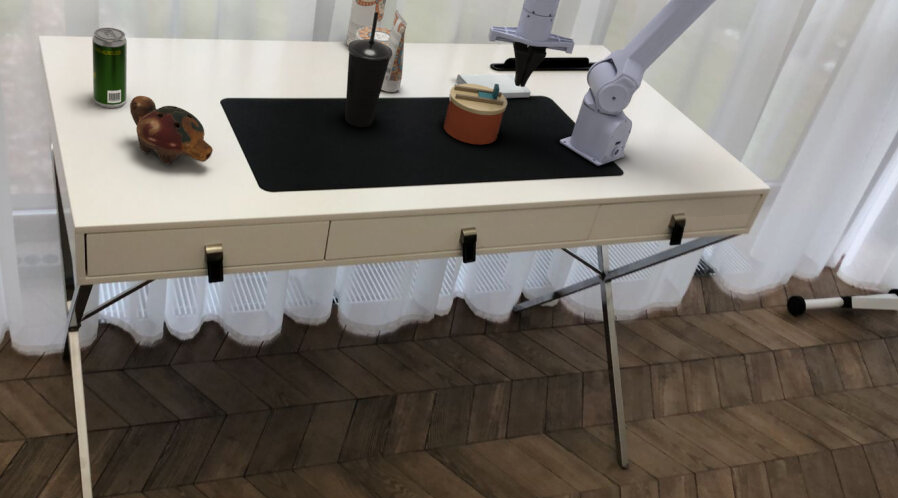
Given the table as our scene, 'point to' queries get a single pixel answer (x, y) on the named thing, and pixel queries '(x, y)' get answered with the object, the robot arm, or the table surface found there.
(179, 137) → the decorative turtle
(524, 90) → the hard drive
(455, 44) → the table surface
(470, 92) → the brown and beige cylinder
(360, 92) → the drinking cup
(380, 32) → the cosmetic set
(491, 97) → the slider
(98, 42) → the beer can
